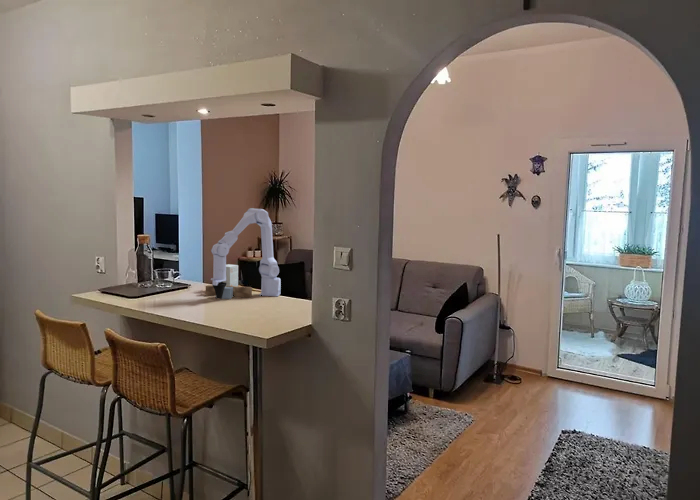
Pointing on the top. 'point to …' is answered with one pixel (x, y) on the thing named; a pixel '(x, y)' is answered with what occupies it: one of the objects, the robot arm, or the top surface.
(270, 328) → the top surface
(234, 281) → the small box
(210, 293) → the beige wooden bar
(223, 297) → the cabinet block
